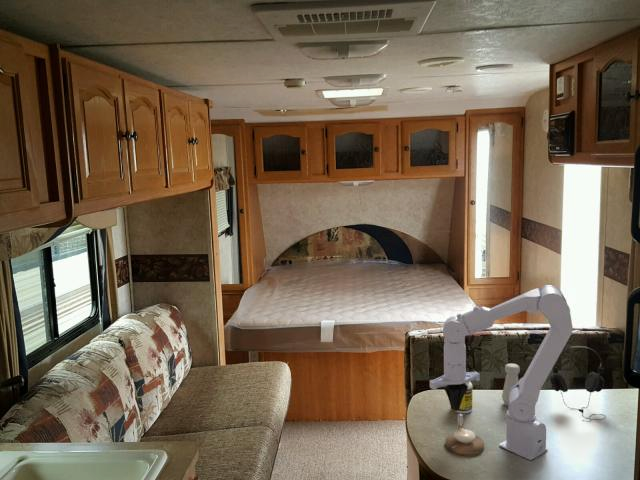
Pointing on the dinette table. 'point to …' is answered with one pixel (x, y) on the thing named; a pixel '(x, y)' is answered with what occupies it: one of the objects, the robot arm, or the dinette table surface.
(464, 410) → the pill bottle
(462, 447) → the base
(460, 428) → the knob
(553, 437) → the dinette table surface
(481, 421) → the dinette table surface
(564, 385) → the headphones
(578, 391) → the dinette table surface
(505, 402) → the salt shaker
